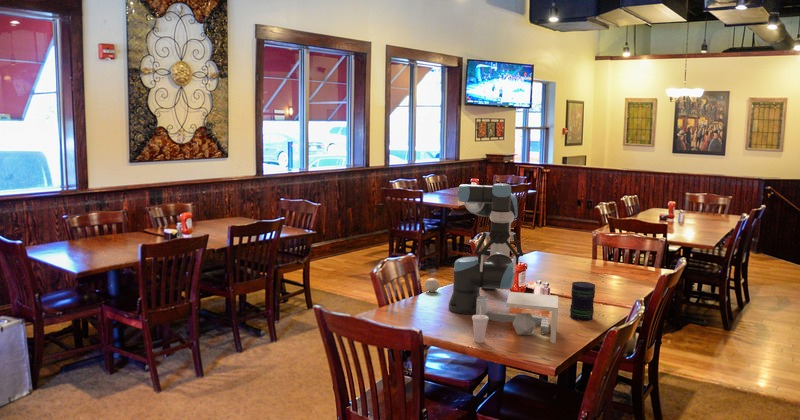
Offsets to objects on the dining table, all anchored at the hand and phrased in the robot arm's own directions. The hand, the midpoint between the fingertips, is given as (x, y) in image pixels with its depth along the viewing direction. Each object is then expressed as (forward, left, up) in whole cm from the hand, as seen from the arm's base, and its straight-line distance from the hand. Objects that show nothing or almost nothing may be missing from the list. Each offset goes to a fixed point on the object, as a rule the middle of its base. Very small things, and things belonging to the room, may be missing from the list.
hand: (497, 271), depth 285 cm
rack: (+15, -11, -21) cm, 29 cm away
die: (+13, -12, -22) cm, 28 cm away
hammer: (+7, -3, -21) cm, 23 cm away
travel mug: (-8, +54, -22) cm, 58 cm away
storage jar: (+36, +18, -22) cm, 45 cm away
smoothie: (-3, -27, -22) cm, 35 cm away
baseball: (-34, +39, -22) cm, 56 cm away
